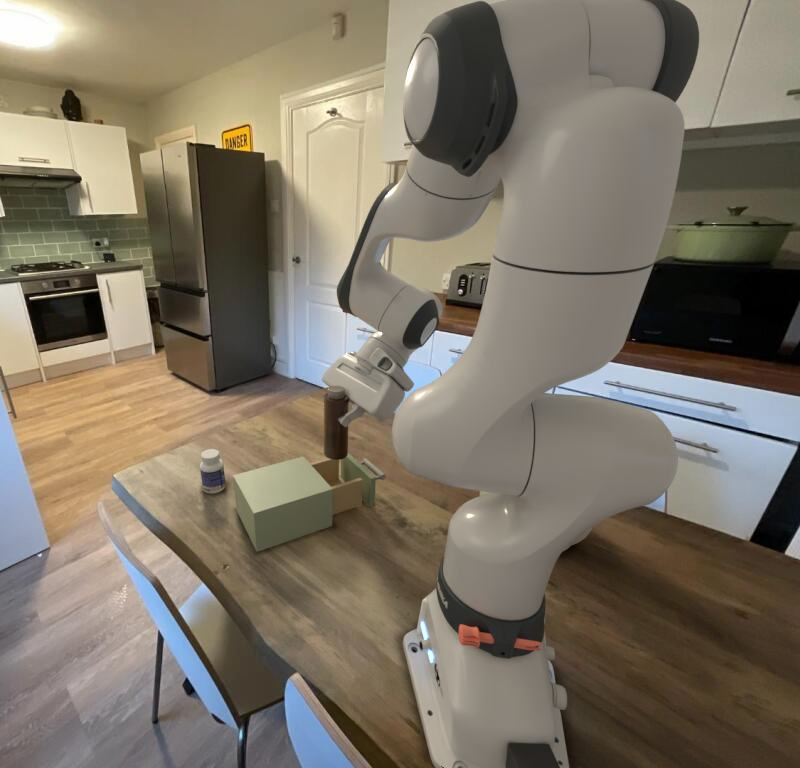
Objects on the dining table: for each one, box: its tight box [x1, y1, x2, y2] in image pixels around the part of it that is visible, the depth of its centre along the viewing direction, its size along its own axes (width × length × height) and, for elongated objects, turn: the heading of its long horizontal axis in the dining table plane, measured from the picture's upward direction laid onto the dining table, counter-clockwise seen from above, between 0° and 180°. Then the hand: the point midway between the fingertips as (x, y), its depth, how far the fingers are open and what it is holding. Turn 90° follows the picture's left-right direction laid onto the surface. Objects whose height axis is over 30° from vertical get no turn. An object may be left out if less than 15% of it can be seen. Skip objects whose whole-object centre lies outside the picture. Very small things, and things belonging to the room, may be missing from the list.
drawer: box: [309, 452, 387, 516], centre depth 85 cm, size 19×12×7 cm, turn 113°
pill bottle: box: [199, 448, 226, 495], centre depth 91 cm, size 5×5×9 cm
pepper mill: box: [323, 386, 350, 461], centre depth 80 cm, size 5×5×14 cm
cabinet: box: [232, 456, 333, 553], centre depth 81 cm, size 16×13×9 cm
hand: (333, 417), depth 80 cm, fingers closed on pepper mill, 5 cm apart
